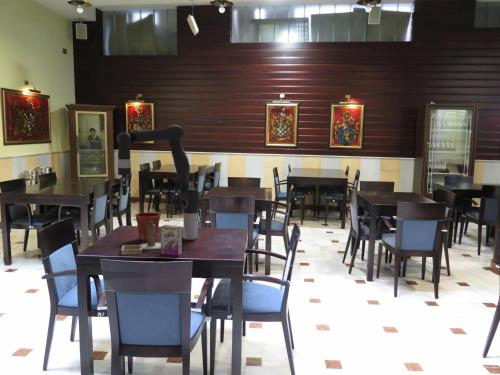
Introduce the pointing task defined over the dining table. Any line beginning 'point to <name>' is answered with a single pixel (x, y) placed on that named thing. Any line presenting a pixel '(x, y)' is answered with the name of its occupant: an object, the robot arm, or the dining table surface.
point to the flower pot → (144, 220)
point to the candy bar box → (171, 240)
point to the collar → (131, 249)
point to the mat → (157, 246)
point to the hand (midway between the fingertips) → (124, 194)
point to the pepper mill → (150, 234)
